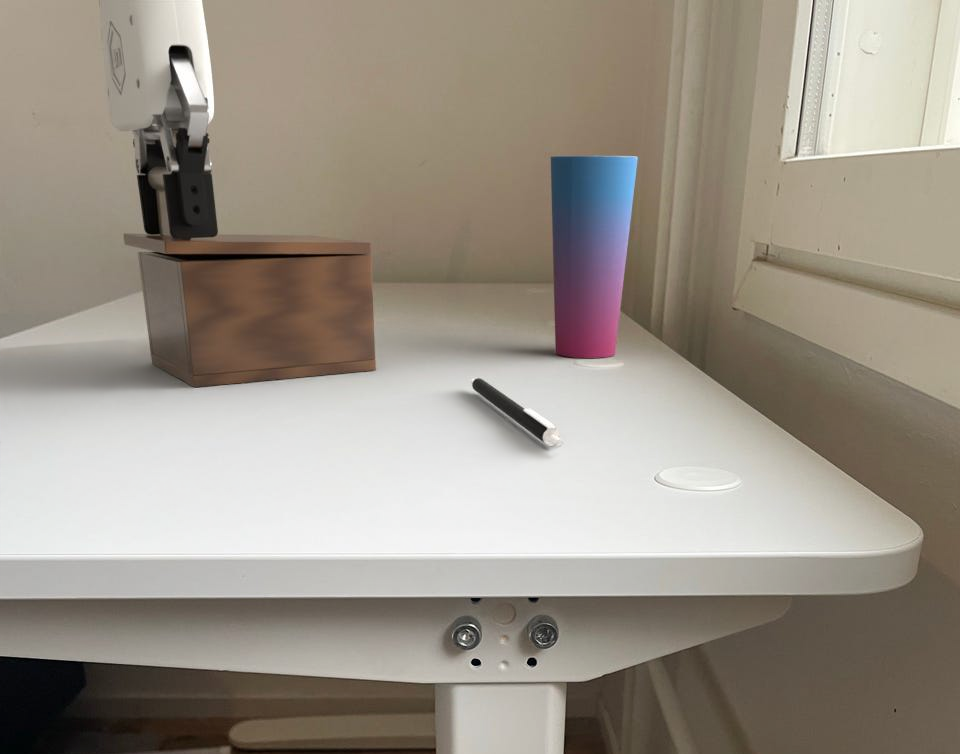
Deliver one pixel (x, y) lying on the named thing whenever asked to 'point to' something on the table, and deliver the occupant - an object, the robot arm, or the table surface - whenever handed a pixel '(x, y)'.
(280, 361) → the chest
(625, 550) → the table surface
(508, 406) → the pen
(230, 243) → the lid
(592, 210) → the cup
